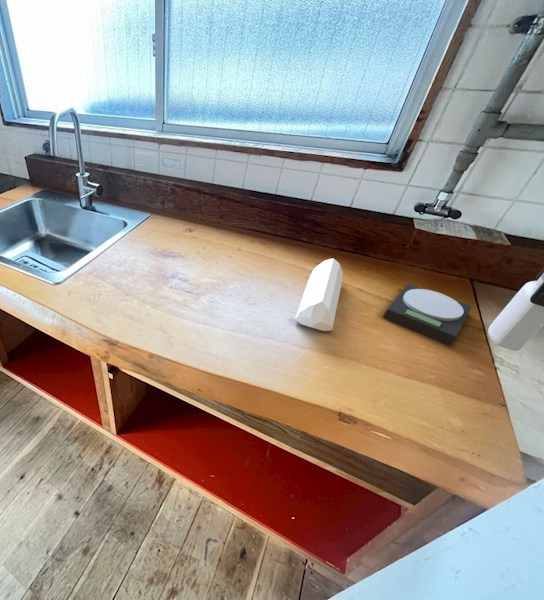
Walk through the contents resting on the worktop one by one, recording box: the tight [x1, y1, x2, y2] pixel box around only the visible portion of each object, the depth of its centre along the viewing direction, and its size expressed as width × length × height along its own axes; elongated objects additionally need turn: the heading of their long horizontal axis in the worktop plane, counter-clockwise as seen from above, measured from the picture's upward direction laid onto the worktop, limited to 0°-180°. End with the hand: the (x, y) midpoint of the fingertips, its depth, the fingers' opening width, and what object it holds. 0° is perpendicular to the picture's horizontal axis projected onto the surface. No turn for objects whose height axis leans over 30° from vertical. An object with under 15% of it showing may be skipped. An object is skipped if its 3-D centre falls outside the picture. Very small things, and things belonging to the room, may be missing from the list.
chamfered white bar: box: [294, 257, 344, 332], centre depth 74 cm, size 7×7×24 cm
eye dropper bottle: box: [487, 273, 544, 352], centre depth 40 cm, size 4×6×12 cm
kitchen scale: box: [382, 283, 473, 346], centre depth 70 cm, size 12×14×3 cm
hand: (543, 293), depth 39 cm, fingers closed on eye dropper bottle, 5 cm apart
